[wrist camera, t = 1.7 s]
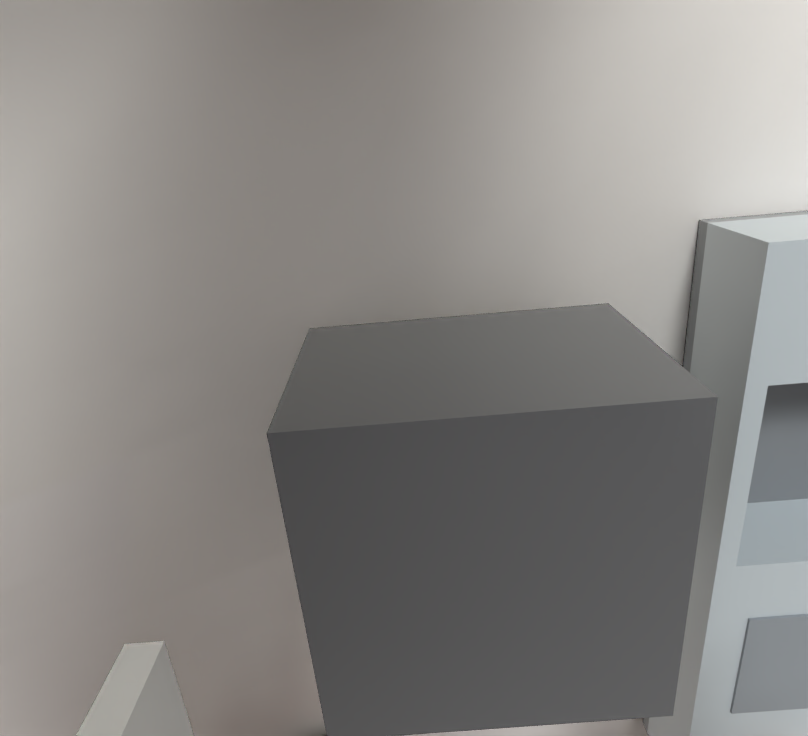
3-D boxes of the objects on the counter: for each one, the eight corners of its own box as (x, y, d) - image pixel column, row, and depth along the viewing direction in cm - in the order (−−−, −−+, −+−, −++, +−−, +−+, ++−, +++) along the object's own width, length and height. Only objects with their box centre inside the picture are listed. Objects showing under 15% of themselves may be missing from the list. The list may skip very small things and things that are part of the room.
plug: (318, 307, 18) (266, 433, 11) (586, 285, 18) (717, 396, 11) (350, 529, 22) (327, 740, 14) (577, 512, 21) (672, 715, 14)
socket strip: (699, 220, 17) (784, 247, 14) (936, 199, 17) (1088, 221, 14) (636, 779, 28) (674, 884, 24) (785, 769, 27) (848, 872, 24)
